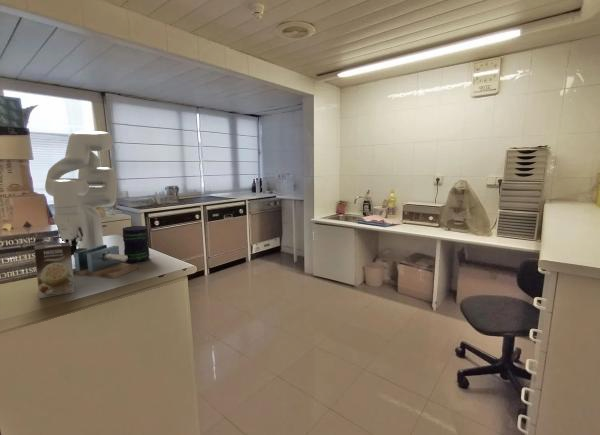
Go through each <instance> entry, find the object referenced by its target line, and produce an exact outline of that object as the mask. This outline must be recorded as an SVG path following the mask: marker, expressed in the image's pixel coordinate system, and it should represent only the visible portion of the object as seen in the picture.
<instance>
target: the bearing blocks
mask: <svg viewBox="0 0 600 435" xmlns="http://www.w3.org/2000/svg"><path fill="white" fill-rule="evenodd" d="M119 248H120V246H119V245H111V246H108V245H107V244H103V245H99V246H96V247H92V248H88V249H85V250H81V251H78V252H74V255H73V258H74V267H75V269H76V271H82V270H85V269H88V272H91V273H93V272H96V271H99V270H102V269H104V268H107V267H110V266H112V265H115V264H118V263H121V261H114V260H104V259H103V256H102V254H103V253H105V254H117V255H120V249H119ZM90 252H91V253H90Z"/></svg>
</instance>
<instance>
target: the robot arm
mask: <svg viewBox="0 0 600 435" xmlns="http://www.w3.org/2000/svg"><path fill="white" fill-rule="evenodd" d="M113 146H114V138H113V136H112V135H111V133H109V132H108V131H107V132H106V131H91V130H89V131H88V130H78V131H74V132H72V133H70V134H69V136H68V141H67V146H66V150H65V155H64V157H63V158H61V159H60V160H58V161H57V162H56V163H54V164H52V165H51V167H49V169H48V171H47V174H46V178H45V183H44V189H45V192H46V193H47V194H48V195H49V196H51V197H52V198H53V206H54V214H53V219H54V221H55V222H54V223H55V224H56V225H57V227H58V229H59V231H60V236H61V239H62V241H64V242H69V243H70V245H71V256H74V252H75V250H76V249H78V248H86V249H88V248H92V247H96V246H99V245H104V236H103V225H102V216H101V214H100V212H99V210H97V209H96V208H97V207H98V208H100V207H103V208H106V207H113V206H114V205H115V204H116V202H117V189H118V188H117V187H118V178H117V173H116V170H115V169H113V168H111V167H103V166H102V167H101V159H100V157H98V155H97V154H96V153H95V152H107V151H109V150H111V149H113ZM73 171H75V172H76V171H78V176H77V178H70V177H69V178H68V177H66V178H65V177H64V178H62V177H63V176H64V175H66V174H68V173H69V174H70V173H71V172H73ZM62 241H61V242H62Z"/></svg>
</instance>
